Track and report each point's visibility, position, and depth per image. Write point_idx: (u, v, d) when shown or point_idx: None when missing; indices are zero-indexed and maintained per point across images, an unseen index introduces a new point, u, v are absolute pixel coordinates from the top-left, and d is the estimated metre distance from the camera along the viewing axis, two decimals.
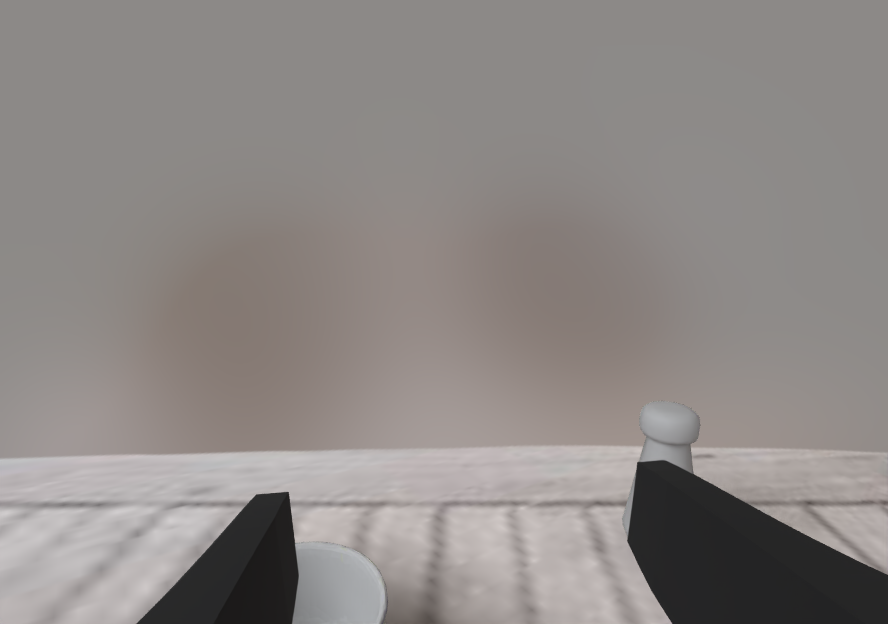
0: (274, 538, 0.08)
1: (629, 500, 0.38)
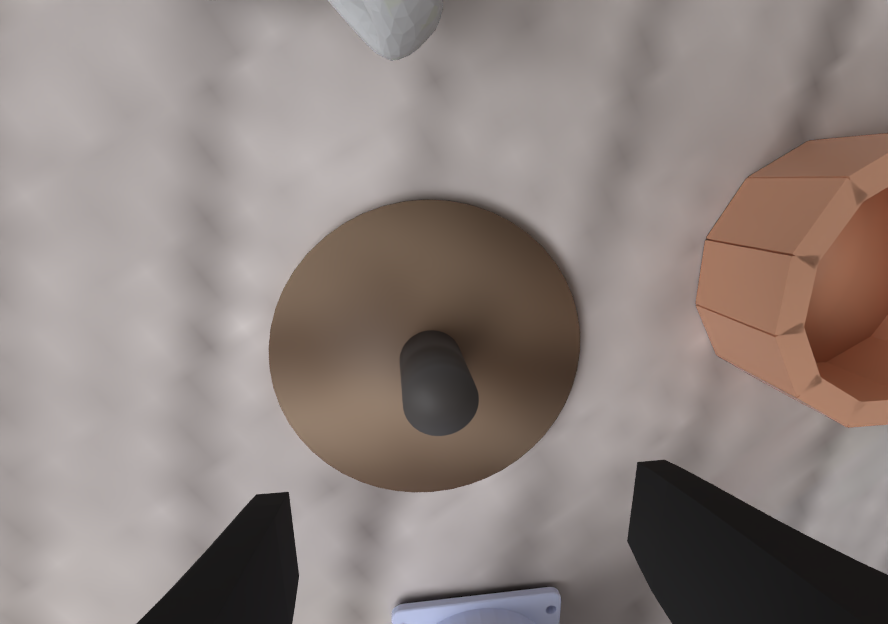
0: (274, 538, 0.08)
1: None
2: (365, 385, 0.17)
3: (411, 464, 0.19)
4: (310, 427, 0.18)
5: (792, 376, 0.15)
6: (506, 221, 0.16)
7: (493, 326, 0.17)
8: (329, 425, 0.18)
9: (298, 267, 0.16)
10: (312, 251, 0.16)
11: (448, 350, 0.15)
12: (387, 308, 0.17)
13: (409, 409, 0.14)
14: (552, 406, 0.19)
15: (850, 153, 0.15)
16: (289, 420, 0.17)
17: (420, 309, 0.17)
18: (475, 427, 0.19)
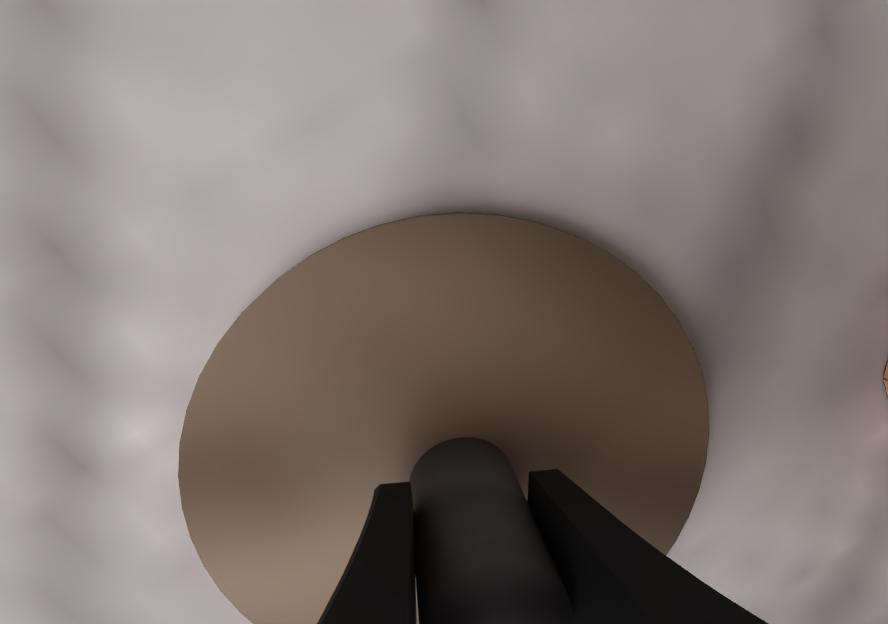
0: (412, 525, 0.08)
1: None
2: (350, 528, 0.10)
3: None
4: (258, 596, 0.10)
5: None
6: (600, 252, 0.09)
7: (568, 427, 0.10)
8: (290, 591, 0.11)
9: (225, 338, 0.09)
10: (250, 309, 0.09)
11: (503, 499, 0.08)
12: (388, 404, 0.10)
13: None
14: (656, 546, 0.12)
15: None
16: (221, 587, 0.10)
17: (445, 403, 0.10)
18: None
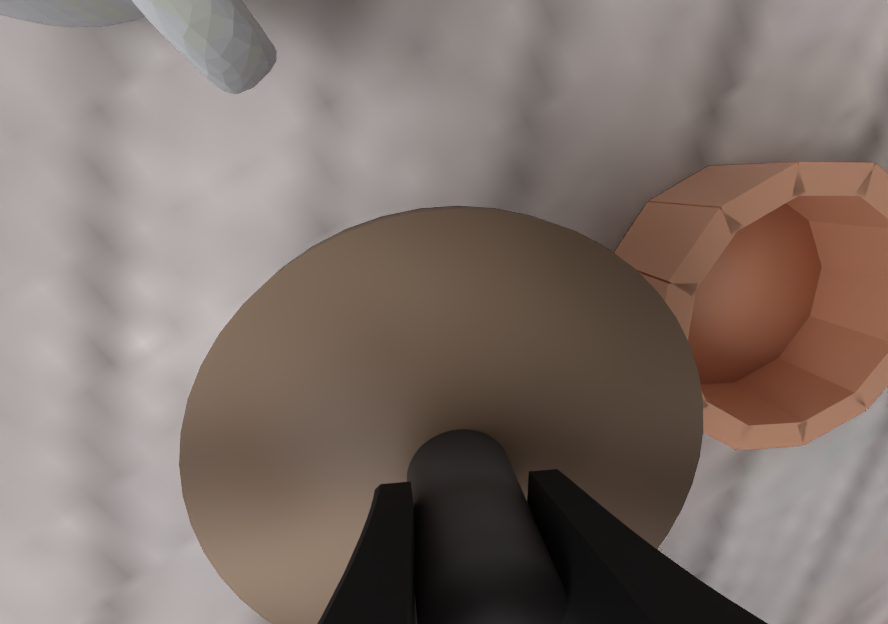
0: (413, 525, 0.08)
1: None
2: (349, 516, 0.10)
3: None
4: (257, 582, 0.11)
5: None
6: (600, 248, 0.09)
7: (565, 421, 0.10)
8: (289, 578, 0.11)
9: (227, 328, 0.09)
10: (252, 300, 0.09)
11: (499, 491, 0.08)
12: (387, 395, 0.10)
13: None
14: (648, 538, 0.12)
15: (731, 183, 0.15)
16: (221, 573, 0.10)
17: (444, 396, 0.10)
18: None
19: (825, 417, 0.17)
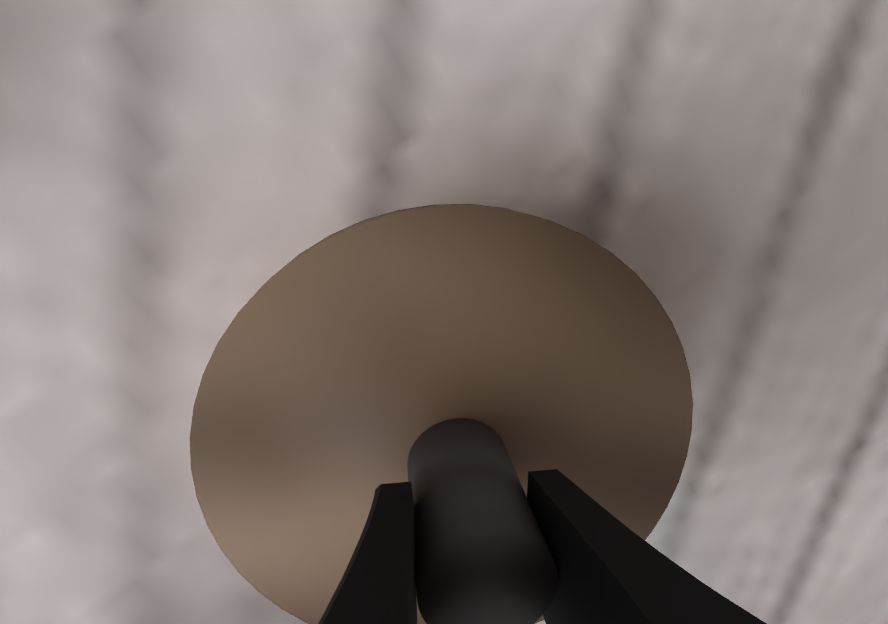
0: (413, 524, 0.08)
1: None
2: (349, 497, 0.11)
3: None
4: (257, 557, 0.11)
5: None
6: (603, 251, 0.10)
7: (561, 415, 0.11)
8: (288, 554, 0.11)
9: (245, 308, 0.09)
10: (271, 283, 0.09)
11: (498, 474, 0.09)
12: (394, 381, 0.10)
13: (429, 603, 0.07)
14: None
15: None
16: (222, 547, 0.11)
17: (447, 385, 0.10)
18: None
19: None
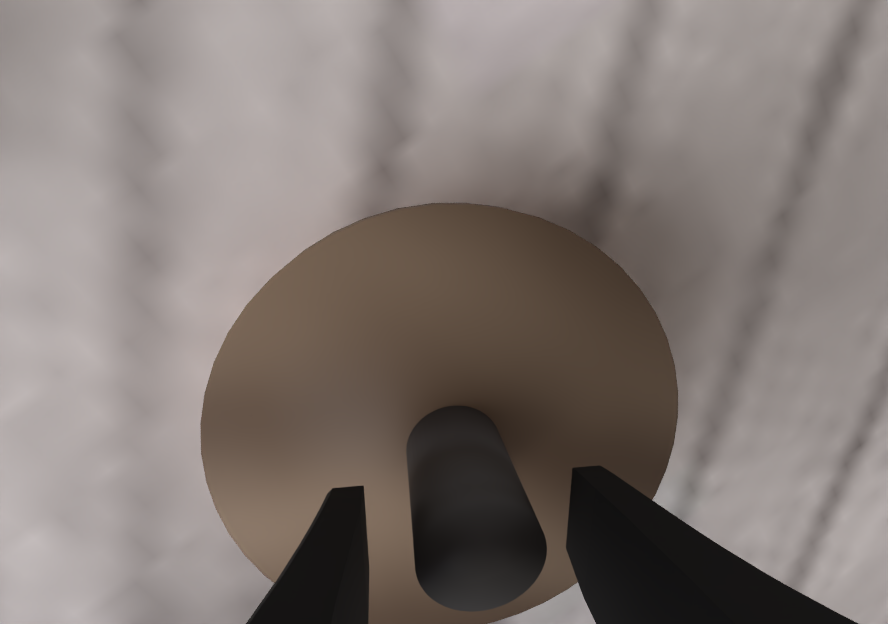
0: (360, 530, 0.08)
1: None
2: (351, 482, 0.11)
3: (412, 594, 0.13)
4: (262, 540, 0.12)
5: None
6: (590, 246, 0.10)
7: (553, 403, 0.11)
8: (292, 538, 0.12)
9: (254, 300, 0.10)
10: (278, 275, 0.10)
11: (492, 455, 0.09)
12: (393, 370, 0.11)
13: (426, 570, 0.08)
14: None
15: None
16: (230, 530, 0.11)
17: (444, 373, 0.11)
18: None
19: None
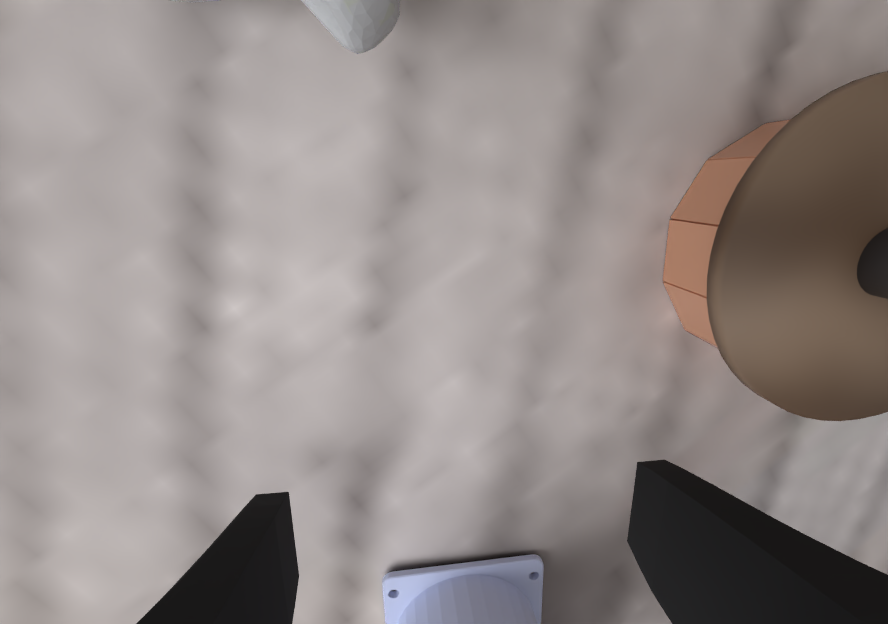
0: (274, 538, 0.08)
1: None
2: (815, 287, 0.15)
3: (829, 386, 0.16)
4: (744, 334, 0.15)
5: None
6: None
7: None
8: (764, 333, 0.15)
9: (796, 135, 0.14)
10: (816, 116, 0.14)
11: None
12: (868, 194, 0.14)
13: None
14: None
15: None
16: (727, 323, 0.15)
17: None
18: None
19: None
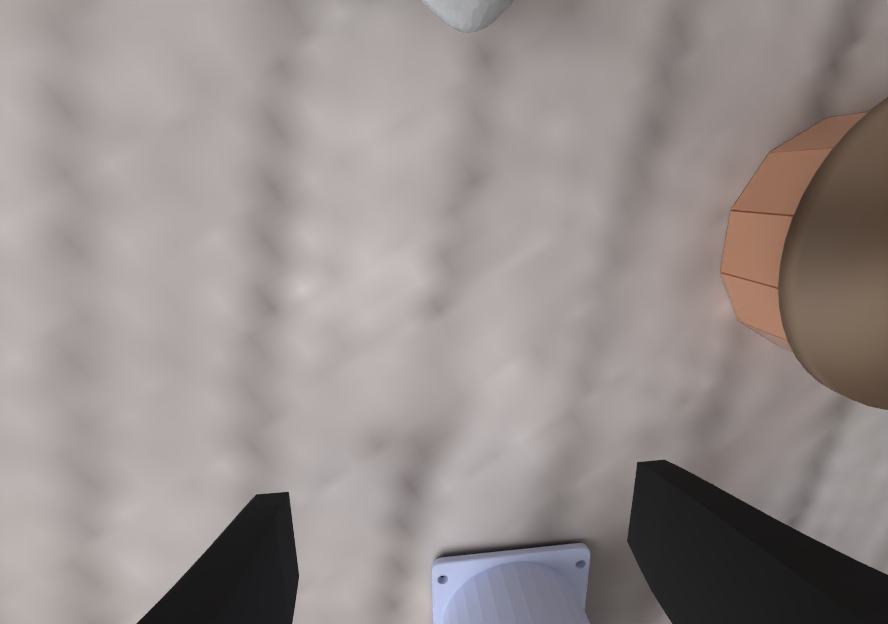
0: (274, 538, 0.08)
1: None
2: (887, 276, 0.15)
3: None
4: (816, 321, 0.16)
5: None
6: None
7: None
8: (835, 321, 0.16)
9: (879, 124, 0.14)
10: None
11: None
12: None
13: None
14: None
15: None
16: (800, 310, 0.15)
17: None
18: None
19: None
